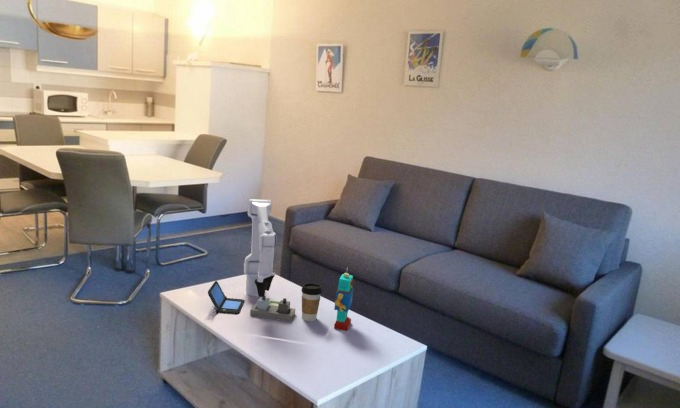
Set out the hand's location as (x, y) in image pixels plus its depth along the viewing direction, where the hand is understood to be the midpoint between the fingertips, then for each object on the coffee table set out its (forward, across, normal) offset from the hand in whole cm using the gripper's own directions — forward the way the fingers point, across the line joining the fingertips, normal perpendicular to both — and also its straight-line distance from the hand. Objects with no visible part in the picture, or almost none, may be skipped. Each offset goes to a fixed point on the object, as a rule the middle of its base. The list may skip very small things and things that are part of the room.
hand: (263, 293), depth 216 cm
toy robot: (+9, +1, -34) cm, 35 cm away
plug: (+9, 0, 0) cm, 9 cm away
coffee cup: (+10, +2, -20) cm, 22 cm away
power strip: (+9, 0, -4) cm, 10 cm away
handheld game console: (+10, +2, +16) cm, 19 cm away
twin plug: (+9, 0, -9) cm, 12 cm away
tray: (+9, +9, -4) cm, 13 cm away
